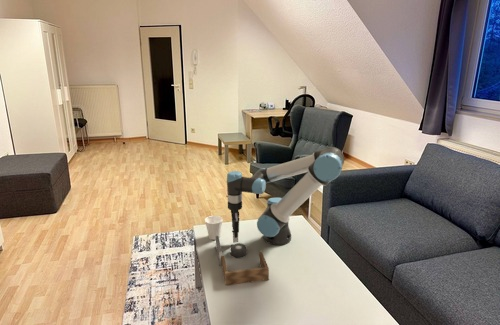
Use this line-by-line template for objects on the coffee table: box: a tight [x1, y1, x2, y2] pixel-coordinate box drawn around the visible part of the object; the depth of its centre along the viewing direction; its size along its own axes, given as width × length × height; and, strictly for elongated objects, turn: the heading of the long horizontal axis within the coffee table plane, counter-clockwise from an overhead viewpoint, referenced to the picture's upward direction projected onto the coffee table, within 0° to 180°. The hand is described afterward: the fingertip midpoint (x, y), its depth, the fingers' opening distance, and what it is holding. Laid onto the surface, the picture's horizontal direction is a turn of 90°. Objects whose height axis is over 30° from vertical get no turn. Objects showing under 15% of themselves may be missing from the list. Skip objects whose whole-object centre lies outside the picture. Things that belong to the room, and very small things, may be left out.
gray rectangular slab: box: [215, 236, 224, 267], centre depth 173 cm, size 18×2×7 cm, turn 11°
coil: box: [230, 242, 247, 259], centre depth 176 cm, size 8×8×4 cm
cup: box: [204, 215, 224, 241], centre depth 190 cm, size 10×10×11 cm
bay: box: [221, 251, 270, 286], centre depth 159 cm, size 19×14×6 cm
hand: (235, 241), depth 184 cm, fingers closed
